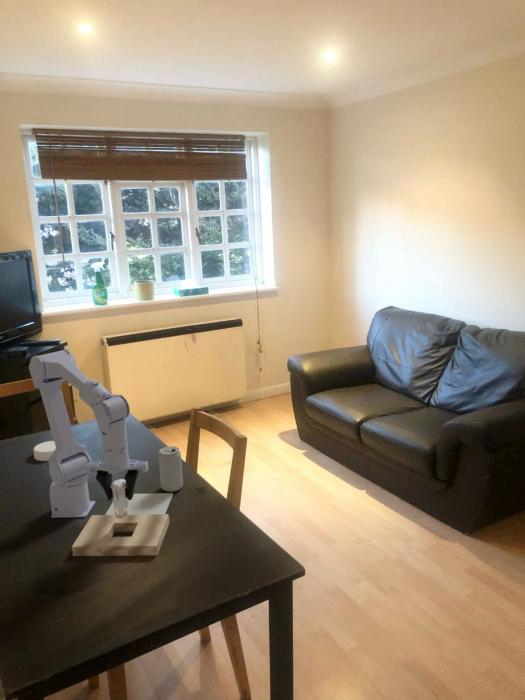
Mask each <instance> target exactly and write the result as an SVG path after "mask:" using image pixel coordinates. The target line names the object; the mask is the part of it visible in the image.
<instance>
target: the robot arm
mask: <svg viewBox="0 0 525 700" xmlns="http://www.w3.org/2000/svg"><path fill="white" fill-rule="evenodd" d="M28 370H29V373H30V376H31V377H30V378H31V379H32V383H33V386H34V388H36V389H39V392H40V395H41V398H42V399H41V400H42V402H43V403H42V404H43V407H44V409H45V414H46V417H47V420H48V424H49V427H50V431H51V434H52V438H53V441H54V442H55V446H56V449H55V450H54V452H53V453H52V455H51V456H50V457H49V459H48V461H47V462H48V466H49V476H50V479H51V481H52V482H51V484H50V486H49V500H50V507H51V513H52V514H51V518H86V517H87V516H88V514H89V513H90V511H91V509H92V508H93V506H94V505H95V504H96V500H90V493H89V485H88V479H89V478H90V474H91V473H93V472H96V475H95V480H96V481H97V482H98V483H99V484H100V486H101V487H102V489H103V491H104V493H105V495H106V498H107V500H108V501H111V500H112V494H111V488H110V485H111V483H112V482H113V474H117V473H118V472H126V474H125V475H124V480H125V481H126V485H127V493H128V500H132V498H133V494H135V493H134V492H135V491H134V490H135V486H136V485H135V484H136V481H137V478H138V475H139V473H140V472H142V473H147V472H148V471H149V462H148V461H143V460H137V459H130V456H129V446H128V445H129V444H128V436H127V434H128V433H127V432H128V431H127V423H126V419H127V418H128V417H129V416H130V413H131V412H130V406H129V405H130V404H129V403H128V400H127V399H126V398H125V397H124V396H123V395H122V394H116V393H111V391H109V390H108V389H107V388H106V387H105V386H103V385H102V384H101V383H100V382H99V381H98V380H97V379H89V378H88V377H87V376H86V374H85V373H84V372H83V371H82V370H81V369H80V368H79V366H78V365H77V362H76V357H75V355H74V354H73V353H72V352H71V351H70V350H69V349H67V348H63V349H61V350H59V351H54V352H48V353H44V354H40V355H33V356H32V357H31V358H30V361H29V365H28ZM65 381H66V382H67V383H68V384H70V385H71V386H73V387H74V388H75V389H77V390H78V397H79V399H80V400H81V401H82V402H83V403H85V405H87V406H88V407H89V408H90V409H91V410H92V411H93V416H94V419H95V420H96V422H97V426H98V429H99V431H100V432H101V439H102V440H101V441H102V450H103V451H102V452H103V460H98V461H92V458H91V456H90V455H89V453H88V450H87V448H86V446H84V445H81V444H79V443H77V442H76V439H75V436H74V435H75V434H74V432H73V429H72V425H71V420H70V417H69V414H68V410H67V407H66V403H65V399H64V396H63V393H62V389H61V386H62V384H63V382H65Z"/></svg>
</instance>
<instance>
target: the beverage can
mask: <svg viewBox="0 0 525 700" xmlns="http://www.w3.org/2000/svg"><path fill="white" fill-rule="evenodd" d="M158 452H159V453H158V455H157V456H158V466H159V478H160V488H161V489H162V490H163V491H164V492H166V493H174V492H177V491H180V490H181V489H182V487H183V486H184V477H183V464H182V454H181V453H182V452H181V451H180V448H179V447H177V446H172V445H170V446H165V447H162V448H159V451H158Z"/></svg>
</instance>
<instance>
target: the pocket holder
mask: <svg viewBox="0 0 525 700" xmlns="http://www.w3.org/2000/svg"><path fill="white" fill-rule="evenodd" d="M169 524H170V515H169V514H168V513H167V514H146V515H128V516H127V517H126V518H122V519H119V518H116V517H115V515H105V514H96V515H95V514H91V516H90V518H89V519H88V521H87V523H86V524H85V525H84V528H83V529H82V530H81V532H80V533H79V535H78V536H77V538H76V539H75V541H74V542H73V544H72V546H71V550H72V557H99V556H100V557H109V556H111V557H114V556H117V557H119V556H120V557H123V556H124V557H125V556H128V557H131V556H137V557H138V556H158V554H159V552H160V549H161V547H162V544H163V541H164V539H165V535H166V533H167V531H168V528H169ZM129 532H130V533H131V532H133V533H132V535H131V536H114V535H115V533H129Z"/></svg>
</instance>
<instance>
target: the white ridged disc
mask: <svg viewBox="0 0 525 700" xmlns="http://www.w3.org/2000/svg"><path fill="white" fill-rule="evenodd" d="M55 449H56V446H55V442H54V440H49V441H43V442H42V443H39V444H36V445H35V446H34V447H33V450H32V451H33V458H34V459H35V460H36V461H39V462H49V461H48V459H49V457H50V456H51V455H52V453H53V452H54V450H55Z"/></svg>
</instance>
